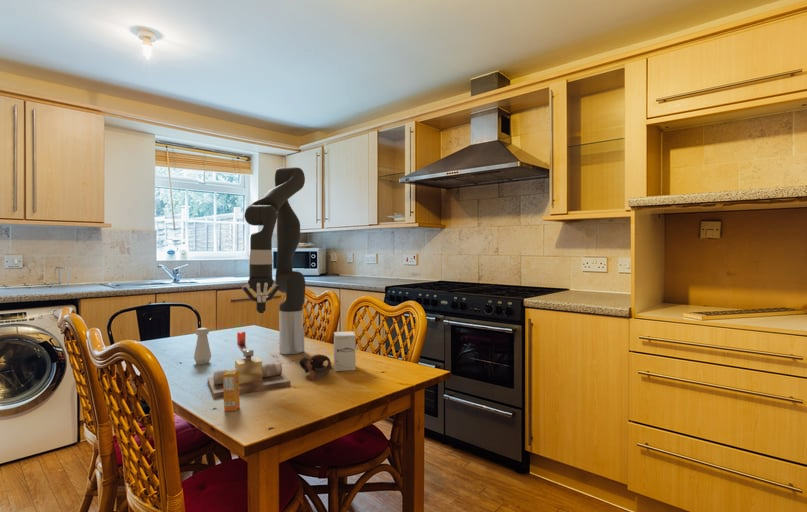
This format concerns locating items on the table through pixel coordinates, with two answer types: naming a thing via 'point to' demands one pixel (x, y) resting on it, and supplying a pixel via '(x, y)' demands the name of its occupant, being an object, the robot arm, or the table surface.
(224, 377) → the supplement box
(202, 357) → the salt shaker
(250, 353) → the valve lever
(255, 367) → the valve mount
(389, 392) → the table surface
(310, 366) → the pottery mug
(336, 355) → the supplement box
